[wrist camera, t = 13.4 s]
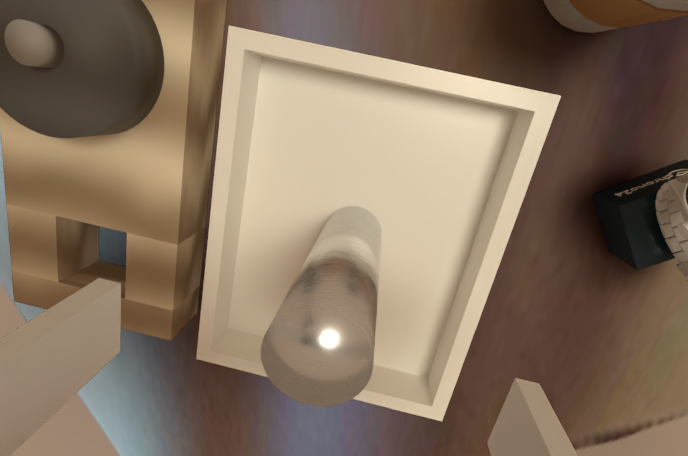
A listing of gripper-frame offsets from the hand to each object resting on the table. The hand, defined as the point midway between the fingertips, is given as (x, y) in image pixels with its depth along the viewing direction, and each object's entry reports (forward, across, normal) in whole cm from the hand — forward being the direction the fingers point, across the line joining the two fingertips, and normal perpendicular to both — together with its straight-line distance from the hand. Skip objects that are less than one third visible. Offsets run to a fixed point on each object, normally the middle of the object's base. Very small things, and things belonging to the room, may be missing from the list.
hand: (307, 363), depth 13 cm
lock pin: (+15, 0, 0) cm, 15 cm away
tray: (+16, 0, 0) cm, 16 cm away
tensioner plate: (+16, -17, +2) cm, 23 cm away
